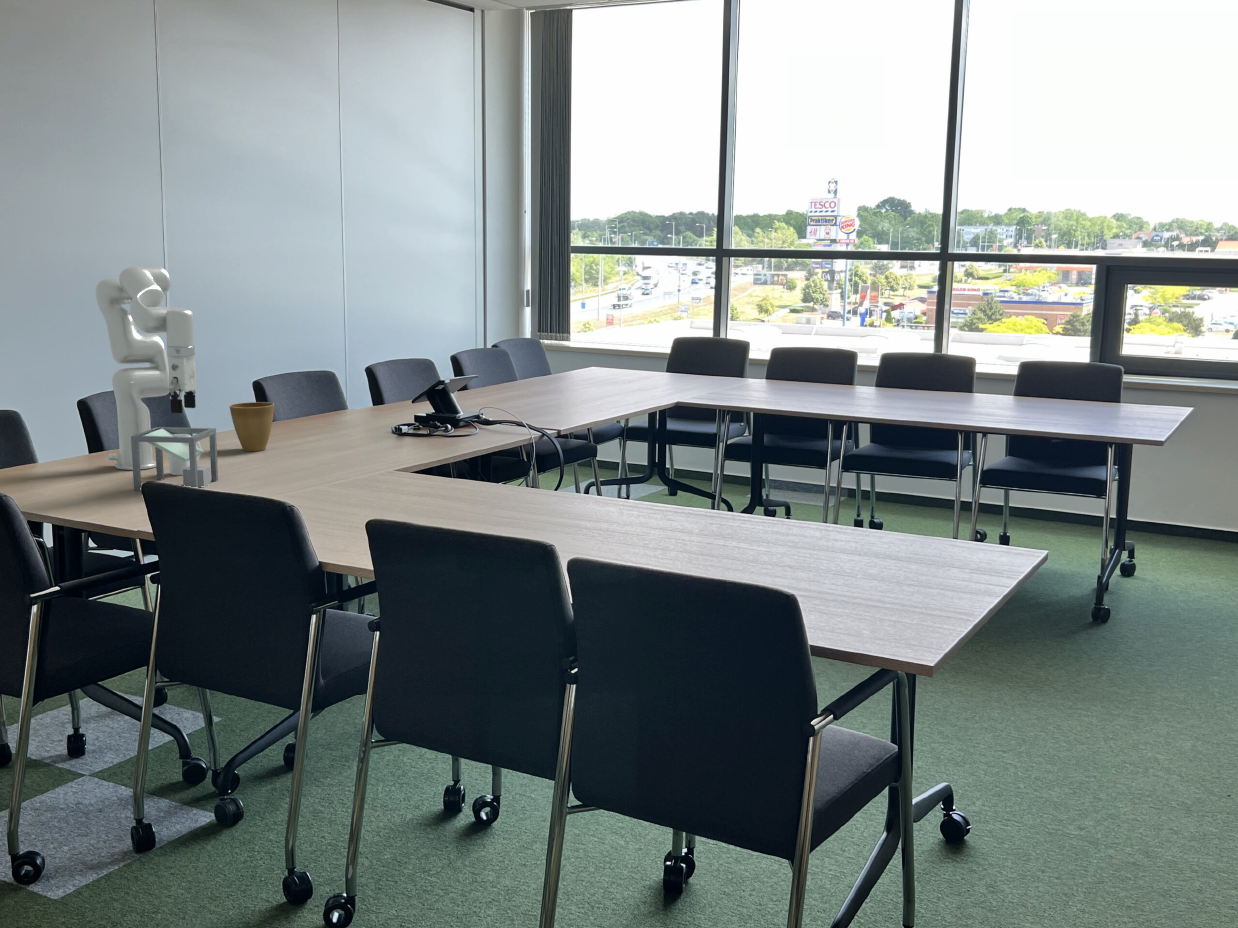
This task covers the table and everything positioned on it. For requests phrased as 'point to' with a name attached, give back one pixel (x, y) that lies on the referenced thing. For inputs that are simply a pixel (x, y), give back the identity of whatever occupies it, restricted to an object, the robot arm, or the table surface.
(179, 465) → the mug
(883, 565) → the table surface
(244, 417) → the plant pot
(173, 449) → the trapdoor
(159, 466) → the stand
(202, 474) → the grey cube
